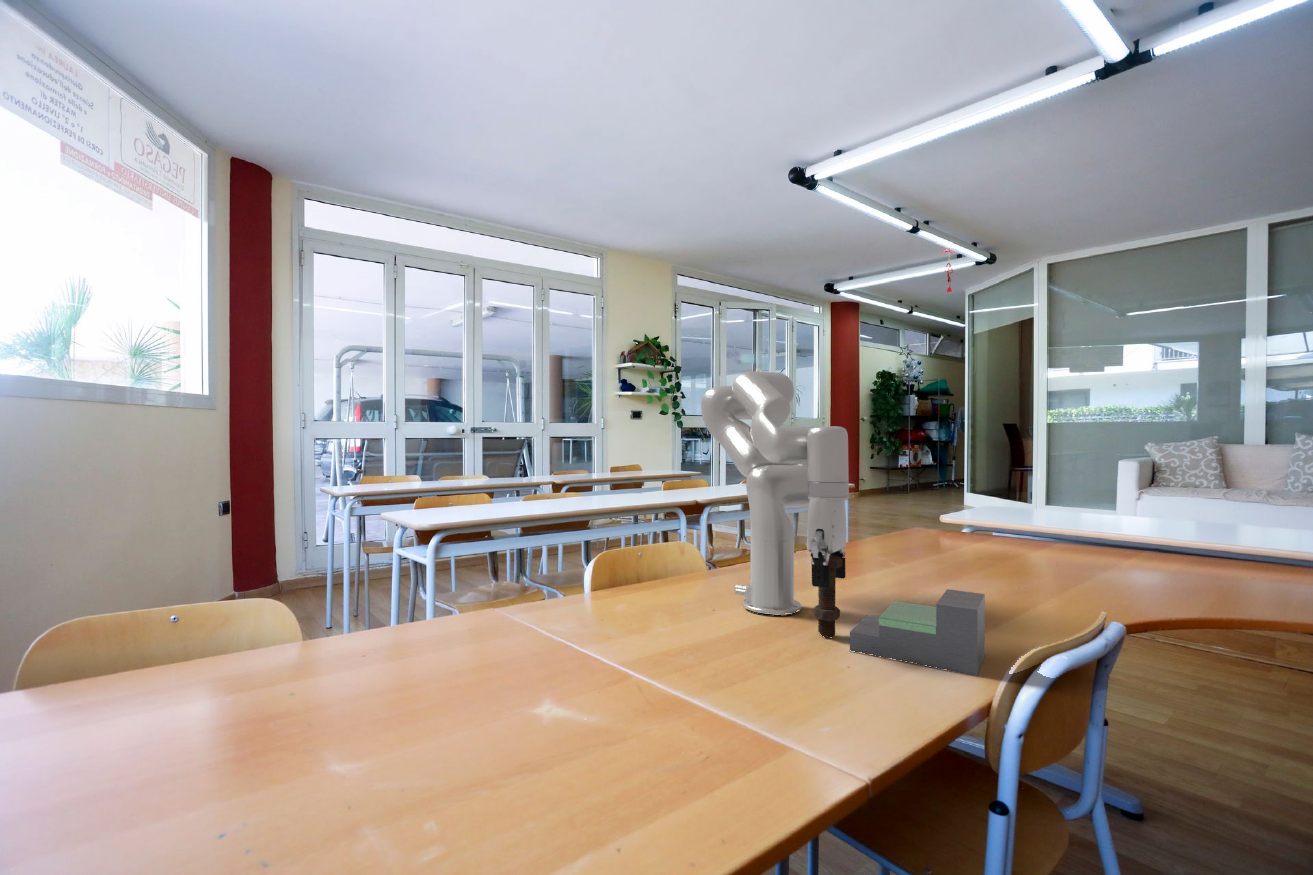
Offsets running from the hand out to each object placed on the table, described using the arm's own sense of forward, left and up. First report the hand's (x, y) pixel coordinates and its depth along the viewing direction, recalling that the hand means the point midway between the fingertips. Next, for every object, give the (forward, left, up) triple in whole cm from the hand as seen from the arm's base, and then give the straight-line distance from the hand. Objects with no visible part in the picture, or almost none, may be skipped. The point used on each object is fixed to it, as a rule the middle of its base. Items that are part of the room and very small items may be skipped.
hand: (829, 581), depth 115 cm
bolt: (-1, 0, -11) cm, 11 cm away
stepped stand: (+15, 0, -10) cm, 19 cm away
